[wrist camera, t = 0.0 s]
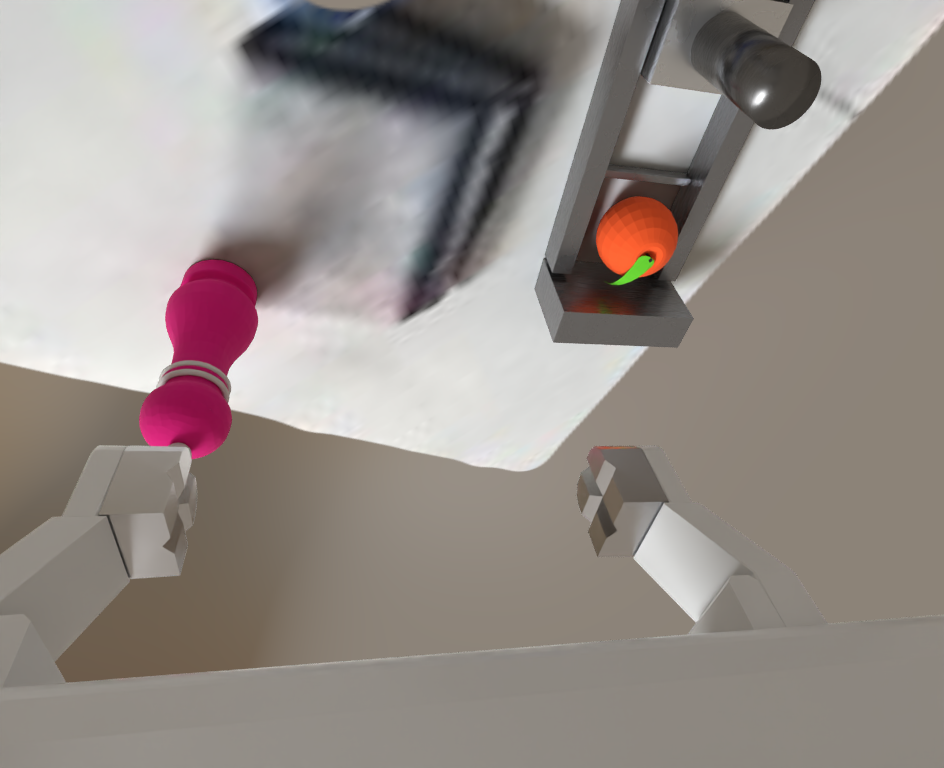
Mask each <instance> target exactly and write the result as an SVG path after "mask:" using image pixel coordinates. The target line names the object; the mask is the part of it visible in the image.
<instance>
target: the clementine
mask: <svg viewBox="0 0 944 768" xmlns="http://www.w3.org/2000/svg"><path fill="white" fill-rule="evenodd" d="M677 241H678V228H677V224H676V221H675V219H674V217H673V215H672V213H671V211H670V210H669V209H668V208H667V207H666V206H664V205H663V204H662V203H661V202H659V201H657V200H655V199H653V198H648V197H641V196H636V197H629V198H627V199H624V200H621V201H620V202H618V203H616V204H615V205H613V206H612V207H611V208H610V209H609V210H608V211H607V212H606V213H605V214H604V216H603V217H602V219H601V221H600V223H599V226H598V229H597V235H596V245H597V249H598V253H599V256H600V258H601V259H602V261H603V262H604V264H605V265H606V266H607V267H608V268H609V269H610V270H612V271H613V272H615V273H617V274H619V275H621V276H623V277H622V278H620V279H619V280H617V281H616V282H613V283H608V282H606V283H608V284H611V285H622V284H625V283H628V282H631V281H633V280H635V279H637V278H638V277H645V276H648V275H651V274H653V273H655V272H657V271H658V270H660V269H661V268H662V267H663V266H665V265H666V263H667V262H668V261H669V260H670V258H671V257H672V255H673V253H674V251H675V249H676V246H677Z"/></svg>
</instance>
